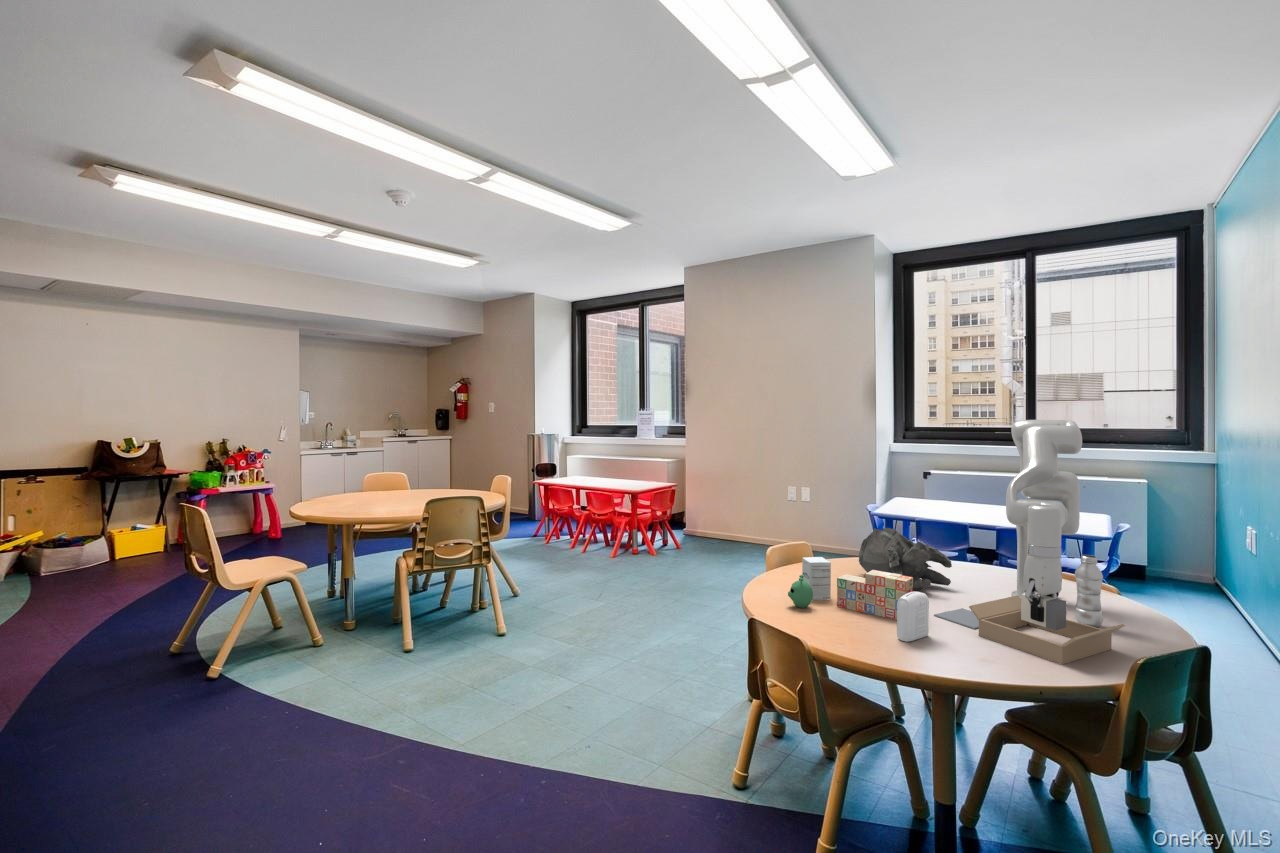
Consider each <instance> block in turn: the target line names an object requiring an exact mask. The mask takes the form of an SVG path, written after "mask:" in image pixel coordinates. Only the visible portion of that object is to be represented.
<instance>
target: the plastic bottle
mask: <svg viewBox="0 0 1280 853" xmlns="http://www.w3.org/2000/svg"><path fill="white" fill-rule="evenodd" d="M1080 562H1081V564H1080V565H1079V566H1078V567H1077V568H1076V569H1075V571H1074V577H1075V583H1076V591H1077V592H1076V595H1077V596H1076V605H1075V608H1074V619H1075V622H1078V623H1082V624H1085V625H1089V626H1092V627H1096V628H1098V627H1100V626H1102V624H1103V622H1104V615H1103V611H1102V603H1101V594H1102V585H1103V579H1104V574H1103V572H1102V571H1101V570H1100V568H1099V567H1098V562H1099V561H1098V556H1096V555H1093V554H1092V555H1091V554H1081V556H1080Z"/></svg>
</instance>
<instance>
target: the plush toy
mask: <svg viewBox="0 0 1280 853" xmlns="http://www.w3.org/2000/svg"><path fill="white" fill-rule="evenodd" d="M872 529H873V530H872V532H870V533H869V534H868V535H867V537H866V538H864V539H863V540H862V543H861V544H860V549H859V552H858V562H859V565H860V566H861V567H862V569H863V570H864V571H865V572H866V573H868V572H870V571H871V570H876V571H882V572H888V573H895V574H901V575H903V576H909V577H913V592H921V591H923V590H925V589H927V588H929V587H931V584H933V585H940V586H950V584H951V583H952V581H951V579H950V578H948V577H946V576H945V575H943V573H941V572H939V571H936V570H934V569H931V568H932V566H931V565H930V564H928V562H933V563H938V564H941V565H942V566H943V567H944V568H949V569H950V568H952V567H953V565H952V560H950V558H948V557H947V556H946V554H944V553H942V552H941V551H940V550H938V549H937V548H935V547H934V546H931V545H929V544H924V543H922V542H920V541H918V540H917V542H913V541H912V540H911V539H909V538H907V537H906V536H905V535H903V534H901V533H900V532H899V531H898V530H895V529H894V528H891V527H882V528H881V529H878V528H872Z"/></svg>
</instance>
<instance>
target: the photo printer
mask: <svg viewBox="0 0 1280 853" xmlns="http://www.w3.org/2000/svg"><path fill="white" fill-rule="evenodd" d="M929 602H930V599H929V597H928V595H927V594H926V593H925V592H921V591H913V592H910V593H907V594H905V595H903V596H902V597H901V598H900V599H899V600H898V603H897V620H896V637H897V639H898V640H900V641H903V642H914V641H916V640H919V639H922V638H925V637H927V636H928V635H929V632H930V631H929V628H930V626H929V625H930V624H929V623H930V622H929V619H930V618H929V617H930V615H929V614H930V612H929V611H930V610H929V608H930V603H929Z"/></svg>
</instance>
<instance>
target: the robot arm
mask: <svg viewBox="0 0 1280 853" xmlns="http://www.w3.org/2000/svg"><path fill="white" fill-rule="evenodd" d="M1010 430H1011V431H1010V432H1011V437H1012V440H1013V443H1014V445H1015V447H1016V450H1017V451H1018V454H1019V458H1020V459H1019V460H1020V461H1019V462H1020V464H1019V469H1020V470H1019V472H1018V473H1017V474H1016V475H1015V476H1014V477H1013V478H1012V479H1011V481H1010V482H1009V483H1008V486H1007V488H1006V493H1005V513H1006V518H1007V520H1008V522H1009V523H1010V524H1012V525H1014V526H1015V527H1016V541H1017V542H1016V544H1017V549H1016V550H1017V551H1016V552H1017V553H1016V554H1017V555H1016V556H1017V558H1016V560H1017V561H1016V564H1017V566H1016V573H1017V574H1016V590H1013V591H1011V597H1013V596H1018V595H1019V597H1020V598H1021V594H1024V593H1025V597H1026V598H1027V599H1028V600H1029V604H1030V605H1031V611H1030V618H1031V619H1032V620H1036V621H1039V622H1044V607H1042V605H1043V599H1044V596H1045V595H1046V596H1049V597H1053V598H1057V599H1058V597H1059V596H1060V593H1061V591H1062V587H1063V586H1062V585H1063V574H1062V573H1063V572H1062V562H1061V559H1062V535H1063V536H1064V535H1067V536H1070V535H1071V536H1073V535H1075V534H1076V533H1077V532H1078V531H1079V528H1080V519H1081V517H1080V506H1081V504H1080V503H1081V501H1080V498H1081V495H1080V494H1081V491H1080V489H1081V486H1080V481H1079V478H1078V476H1077V474H1076V473H1074V472H1072V471H1071V472H1070V471H1066V470H1065V471H1061V470H1059V459H1058V454H1059V455H1076V454H1077V455H1078V454H1079V453H1080V452H1081V450H1082V446H1083V435H1082V431H1081V429H1080V427H1079V426H1078V424H1077V422H1076V421H1074V420H1071V419H1022V420H1018V421H1015V422H1014V423H1012V425H1011V429H1010ZM1019 493H1021V495H1022V497H1024V498H1018V494H1019ZM1036 593H1037V594H1036ZM1035 596H1037V597H1039V600H1037V598H1035Z"/></svg>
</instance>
